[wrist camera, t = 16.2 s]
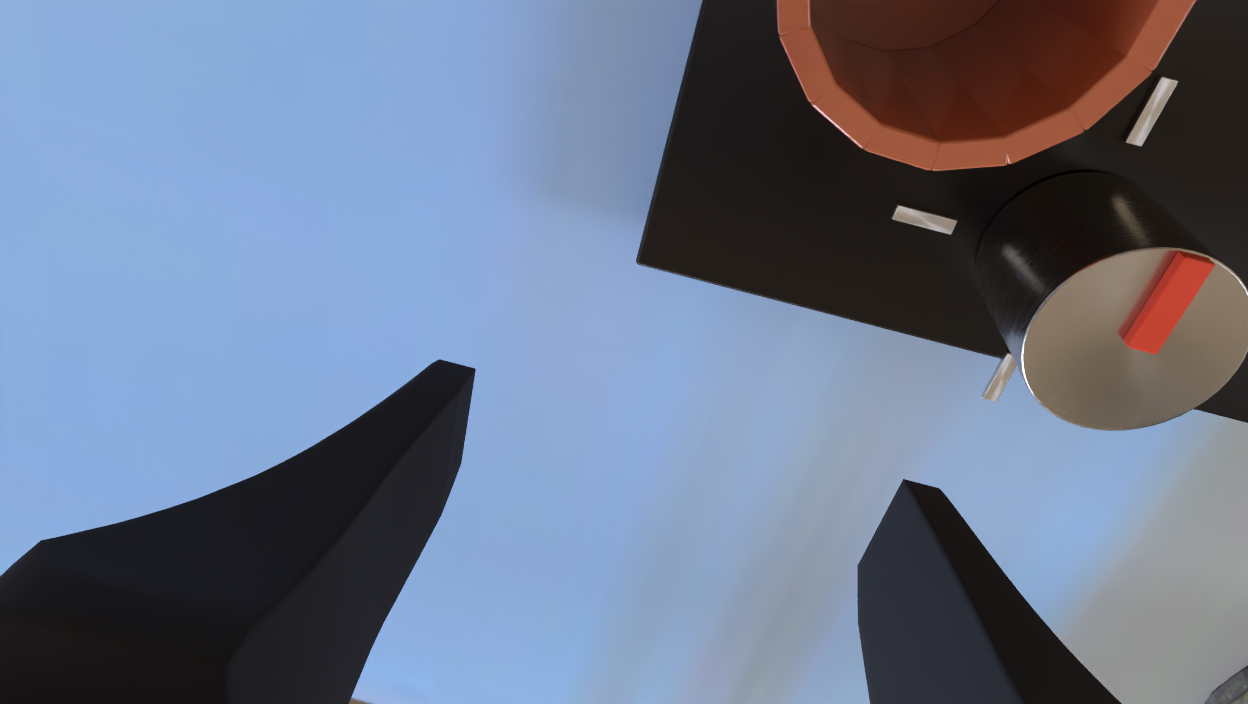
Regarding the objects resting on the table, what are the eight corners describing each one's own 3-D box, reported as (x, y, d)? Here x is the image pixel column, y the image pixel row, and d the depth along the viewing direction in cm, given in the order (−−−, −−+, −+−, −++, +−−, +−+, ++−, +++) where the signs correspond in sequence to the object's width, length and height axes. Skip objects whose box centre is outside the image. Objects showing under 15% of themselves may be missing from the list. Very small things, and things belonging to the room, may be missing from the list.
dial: (1108, 349, 20) (1185, 461, 17) (947, 309, 20) (989, 411, 17) (1203, 196, 18) (1314, 287, 15) (1023, 151, 18) (1090, 230, 15)
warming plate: (636, 260, 24) (624, 306, 21) (786, -325, 17) (792, -349, 14) (1191, 405, 24) (1237, 464, 22) (1569, -117, 17) (1695, -108, 15)
